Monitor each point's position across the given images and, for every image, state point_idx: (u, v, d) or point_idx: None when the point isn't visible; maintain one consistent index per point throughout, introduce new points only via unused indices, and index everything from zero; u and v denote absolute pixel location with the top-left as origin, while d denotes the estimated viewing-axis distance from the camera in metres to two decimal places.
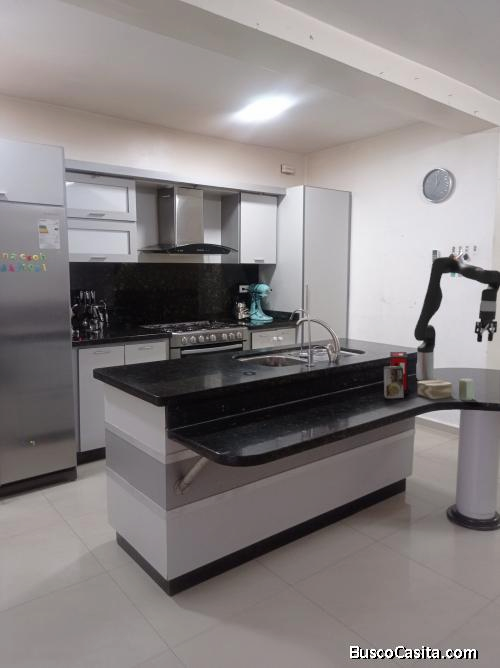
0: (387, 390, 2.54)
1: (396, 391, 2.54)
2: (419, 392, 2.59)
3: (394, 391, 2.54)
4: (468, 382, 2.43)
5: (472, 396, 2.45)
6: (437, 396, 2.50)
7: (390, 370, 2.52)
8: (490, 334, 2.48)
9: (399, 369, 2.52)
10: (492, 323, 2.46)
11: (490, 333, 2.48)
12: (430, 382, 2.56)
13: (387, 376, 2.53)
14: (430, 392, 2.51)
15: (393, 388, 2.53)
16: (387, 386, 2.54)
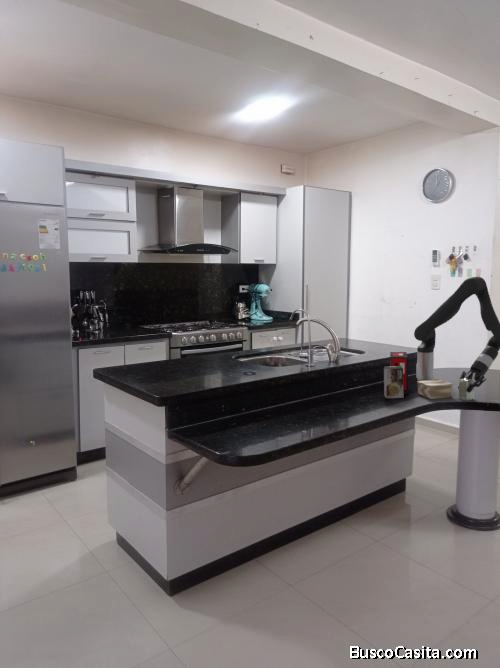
0: (387, 390, 2.54)
1: (396, 391, 2.53)
2: (419, 392, 2.60)
3: (394, 391, 2.54)
4: (468, 382, 2.43)
5: (472, 396, 2.45)
6: (435, 396, 2.50)
7: (390, 370, 2.52)
8: None
9: (399, 369, 2.52)
10: None
11: None
12: (430, 382, 2.57)
13: (387, 376, 2.53)
14: (428, 392, 2.51)
15: (393, 388, 2.53)
16: (387, 386, 2.54)
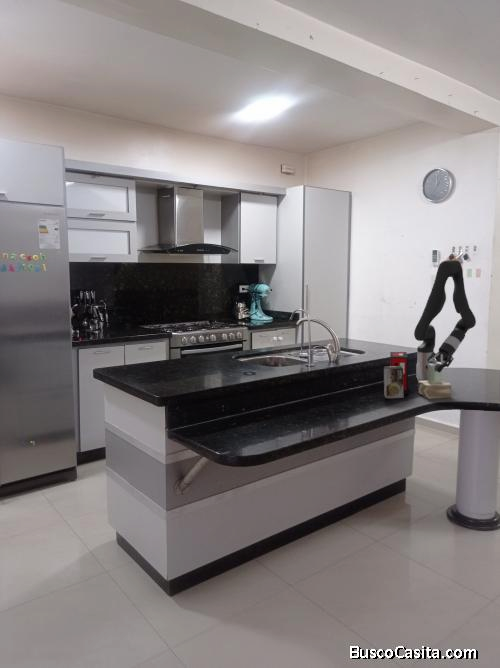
0: (387, 390, 2.54)
1: (396, 391, 2.53)
2: (419, 391, 2.60)
3: (394, 391, 2.54)
4: (436, 366, 2.52)
5: (440, 380, 2.54)
6: (433, 396, 2.50)
7: (390, 370, 2.52)
8: None
9: (399, 369, 2.52)
10: None
11: None
12: None
13: (387, 376, 2.53)
14: (427, 391, 2.52)
15: (393, 388, 2.53)
16: (387, 386, 2.54)
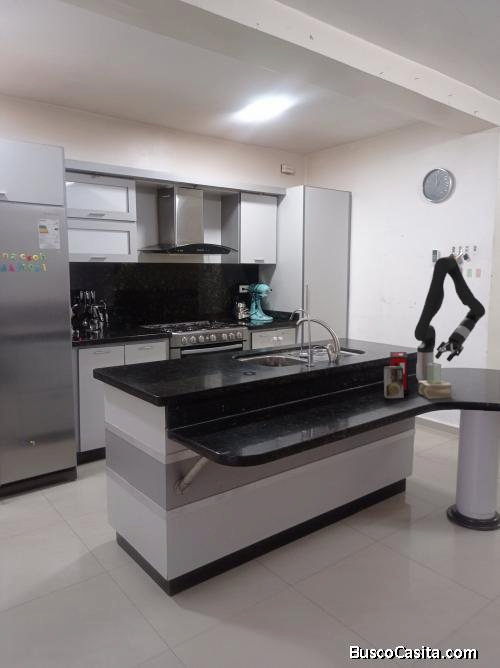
0: (387, 390, 2.54)
1: (396, 391, 2.53)
2: (419, 391, 2.61)
3: (394, 391, 2.54)
4: (435, 366, 2.52)
5: (439, 380, 2.54)
6: (433, 396, 2.50)
7: (390, 370, 2.52)
8: (440, 353, 2.61)
9: (399, 369, 2.52)
10: None
11: (440, 352, 2.61)
12: None
13: (387, 376, 2.53)
14: (427, 391, 2.52)
15: (393, 388, 2.53)
16: (387, 386, 2.54)
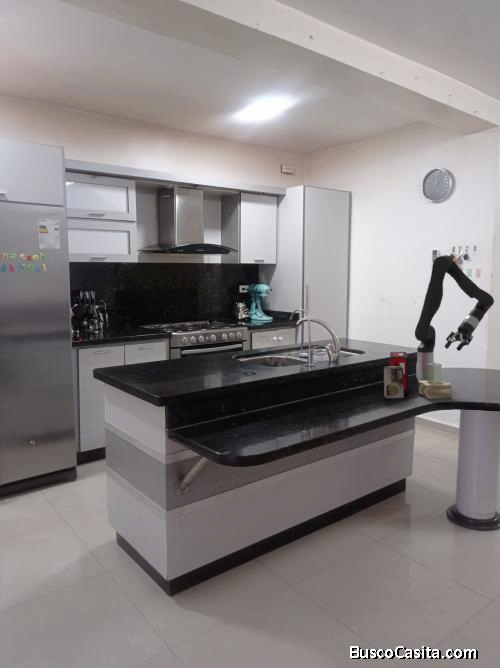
0: (387, 390, 2.54)
1: (396, 391, 2.54)
2: (419, 391, 2.61)
3: (394, 391, 2.54)
4: (435, 366, 2.52)
5: (439, 380, 2.54)
6: (434, 396, 2.50)
7: (390, 370, 2.52)
8: (449, 343, 2.62)
9: (399, 369, 2.52)
10: None
11: (450, 342, 2.62)
12: None
13: (387, 376, 2.53)
14: (427, 391, 2.52)
15: (393, 388, 2.53)
16: (387, 386, 2.54)
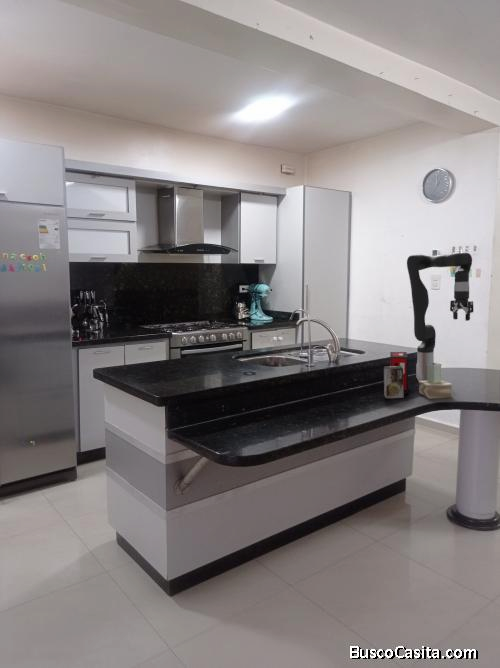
0: (387, 390, 2.54)
1: (396, 391, 2.53)
2: (420, 391, 2.61)
3: (394, 391, 2.54)
4: (435, 366, 2.52)
5: (439, 379, 2.54)
6: (434, 396, 2.51)
7: (390, 370, 2.52)
8: (456, 313, 2.67)
9: (399, 369, 2.52)
10: None
11: (455, 312, 2.67)
12: None
13: (387, 376, 2.53)
14: (427, 391, 2.52)
15: (393, 388, 2.53)
16: (387, 386, 2.54)
